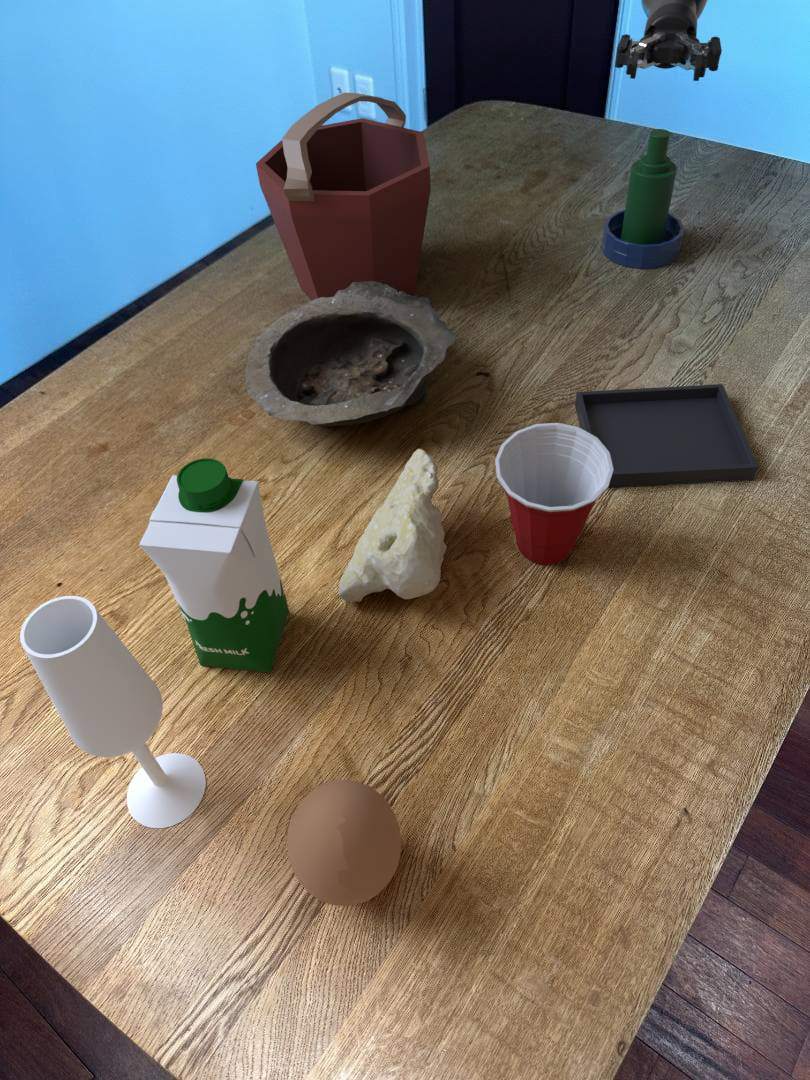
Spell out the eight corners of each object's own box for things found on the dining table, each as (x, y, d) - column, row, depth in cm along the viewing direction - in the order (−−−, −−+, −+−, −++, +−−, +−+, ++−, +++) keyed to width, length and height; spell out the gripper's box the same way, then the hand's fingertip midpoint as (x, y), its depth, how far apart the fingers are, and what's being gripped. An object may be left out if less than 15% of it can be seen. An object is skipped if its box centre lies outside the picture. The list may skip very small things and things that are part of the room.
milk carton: (300, 605, 81) (262, 458, 66) (277, 684, 75) (229, 542, 60) (216, 597, 82) (160, 451, 67) (187, 674, 76) (118, 532, 61)
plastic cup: (486, 581, 81) (488, 498, 72) (497, 503, 88) (500, 418, 79) (596, 592, 79) (613, 509, 70) (599, 512, 86) (614, 426, 77)
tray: (718, 397, 97) (722, 383, 96) (753, 480, 88) (758, 467, 87) (574, 404, 98) (576, 391, 97) (594, 488, 89) (596, 475, 87)
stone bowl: (487, 367, 103) (486, 307, 96) (377, 500, 92) (367, 443, 84) (332, 312, 113) (320, 253, 106) (215, 426, 101) (193, 369, 94)
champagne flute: (213, 752, 71) (125, 583, 53) (197, 829, 66) (95, 672, 48) (137, 752, 71) (25, 583, 53) (117, 828, 67) (-14, 672, 49)
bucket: (339, 351, 108) (312, 162, 89) (244, 289, 119) (202, 110, 101) (468, 277, 118) (469, 93, 99) (370, 226, 129) (353, 53, 111)
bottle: (656, 237, 121) (677, 122, 109) (665, 258, 117) (688, 141, 105) (615, 239, 122) (632, 125, 109) (623, 260, 118) (642, 144, 105)
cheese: (398, 657, 78) (506, 549, 74) (339, 622, 75) (449, 506, 71) (376, 573, 91) (466, 477, 87) (325, 540, 88) (417, 438, 84)
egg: (407, 816, 66) (398, 753, 57) (402, 925, 60) (392, 873, 52) (306, 814, 66) (283, 751, 58) (292, 922, 61) (264, 870, 53)
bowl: (668, 230, 123) (673, 205, 120) (686, 269, 116) (692, 243, 113) (596, 235, 124) (599, 210, 121) (608, 274, 116) (612, 248, 113)
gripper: (625, 1, 120) (616, 40, 110) (726, 2, 118) (726, 43, 107) (618, 56, 126) (609, 99, 116) (714, 59, 123) (713, 103, 113)
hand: (665, 72), depth 112 cm, fingers open, 8 cm apart
